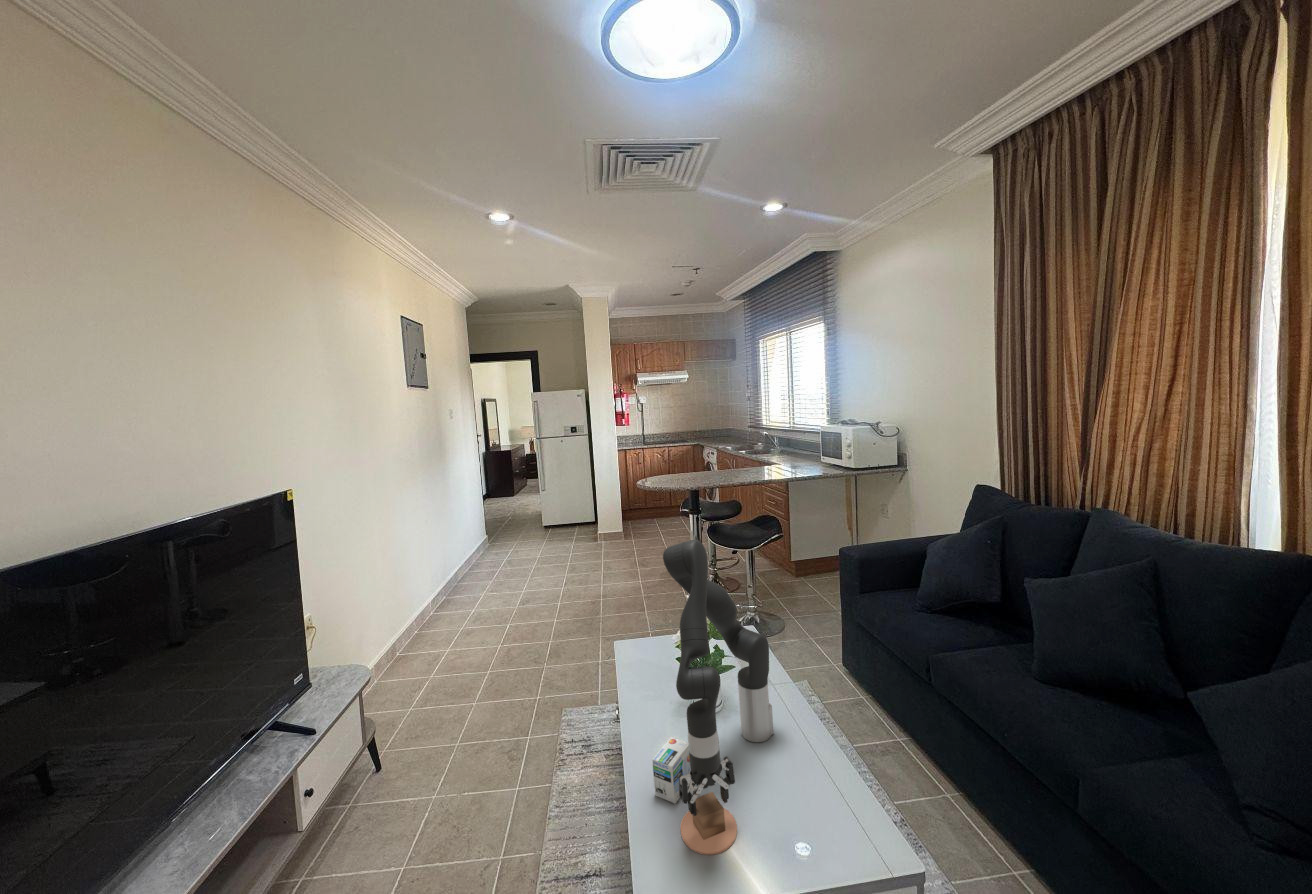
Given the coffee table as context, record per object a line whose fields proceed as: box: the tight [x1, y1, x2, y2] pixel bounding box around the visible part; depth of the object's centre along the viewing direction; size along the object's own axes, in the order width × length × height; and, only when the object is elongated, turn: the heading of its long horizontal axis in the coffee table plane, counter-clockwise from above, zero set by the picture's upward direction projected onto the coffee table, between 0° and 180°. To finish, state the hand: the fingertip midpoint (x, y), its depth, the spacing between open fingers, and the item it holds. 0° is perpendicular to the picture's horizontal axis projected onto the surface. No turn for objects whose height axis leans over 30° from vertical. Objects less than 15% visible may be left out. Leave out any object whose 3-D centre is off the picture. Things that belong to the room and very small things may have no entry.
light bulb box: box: [651, 736, 691, 804], centre depth 144 cm, size 11×7×11 cm, turn 148°
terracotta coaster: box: [679, 807, 738, 856], centre depth 129 cm, size 14×14×1 cm
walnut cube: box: [692, 791, 725, 840], centre depth 129 cm, size 6×6×6 cm
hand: (709, 806), depth 129 cm, fingers open, 8 cm apart
